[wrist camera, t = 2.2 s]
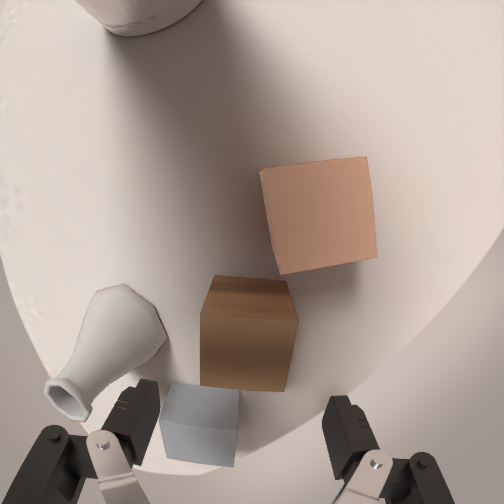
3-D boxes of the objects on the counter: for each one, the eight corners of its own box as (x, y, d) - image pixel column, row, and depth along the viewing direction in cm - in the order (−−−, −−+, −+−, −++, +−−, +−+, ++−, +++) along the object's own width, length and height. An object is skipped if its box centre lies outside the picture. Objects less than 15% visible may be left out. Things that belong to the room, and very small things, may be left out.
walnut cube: (214, 274, 20) (200, 313, 14) (285, 280, 20) (298, 321, 14) (212, 335, 21) (200, 385, 15) (276, 340, 21) (283, 391, 15)
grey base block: (172, 380, 22) (158, 419, 17) (239, 388, 22) (237, 430, 18) (177, 421, 24) (167, 457, 19) (235, 428, 24) (233, 467, 19)
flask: (183, 339, 21) (147, 434, 11) (127, 370, 22) (83, 449, 12) (125, 266, 19) (46, 329, 10) (75, 309, 20) (6, 371, 11)
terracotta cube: (259, 172, 18) (263, 168, 12) (332, 162, 18) (366, 156, 12) (271, 245, 19) (280, 274, 13) (341, 234, 19) (376, 257, 13)
